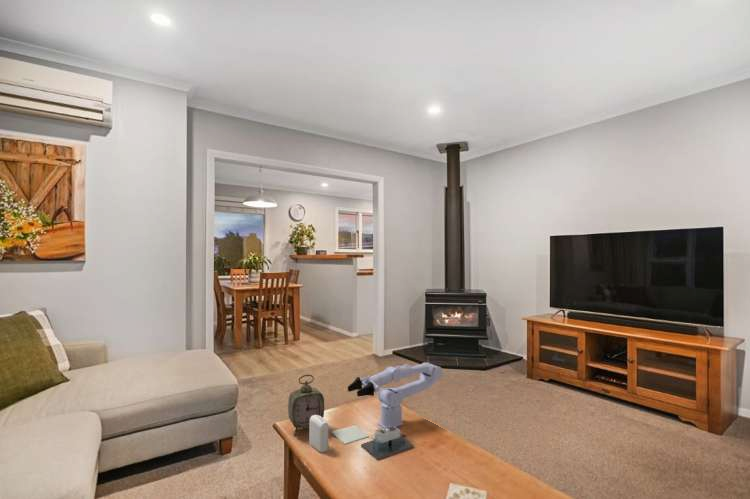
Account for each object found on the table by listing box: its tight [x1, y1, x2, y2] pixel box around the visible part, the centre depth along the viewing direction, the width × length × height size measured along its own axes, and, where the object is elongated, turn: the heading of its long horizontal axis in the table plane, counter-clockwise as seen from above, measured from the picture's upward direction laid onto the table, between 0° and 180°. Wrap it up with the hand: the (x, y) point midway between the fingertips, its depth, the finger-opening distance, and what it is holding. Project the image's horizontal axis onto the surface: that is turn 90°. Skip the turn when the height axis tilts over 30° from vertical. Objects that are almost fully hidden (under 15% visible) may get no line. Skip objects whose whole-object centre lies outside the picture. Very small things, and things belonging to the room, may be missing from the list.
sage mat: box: [331, 424, 370, 445], centre depth 165 cm, size 12×12×1 cm
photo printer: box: [308, 415, 329, 453], centre depth 155 cm, size 10×4×12 cm, turn 39°
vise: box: [360, 428, 415, 461], centre depth 155 cm, size 18×12×8 cm, turn 124°
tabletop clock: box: [287, 374, 325, 436], centre depth 168 cm, size 14×9×25 cm, turn 117°
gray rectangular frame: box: [374, 425, 401, 443], centre depth 155 cm, size 9×5×3 cm, turn 124°
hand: (352, 391), depth 164 cm, fingers open, 7 cm apart
